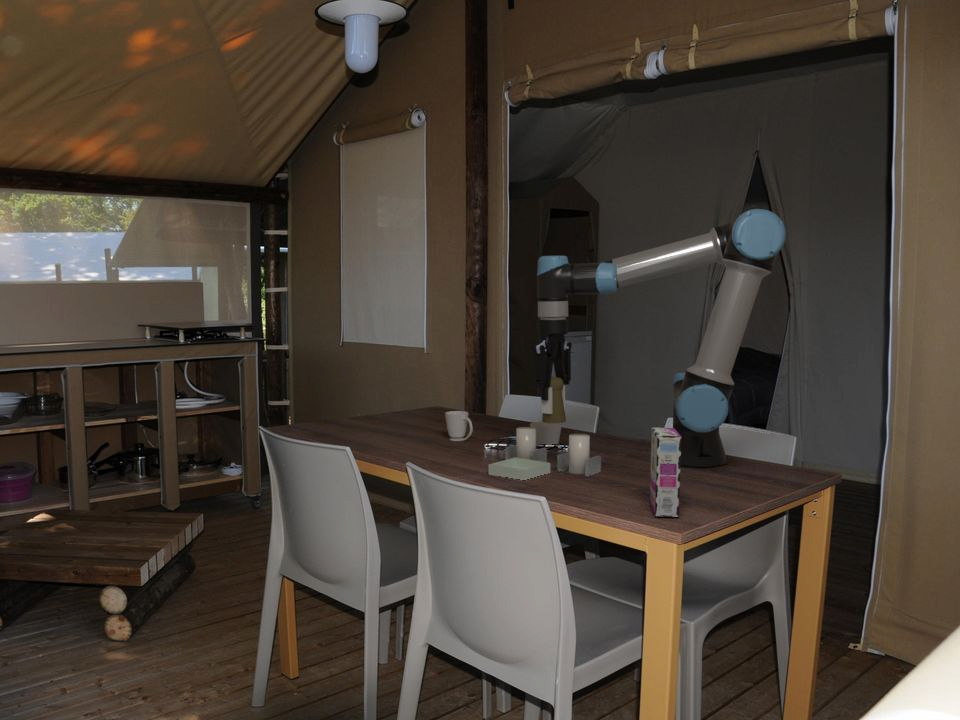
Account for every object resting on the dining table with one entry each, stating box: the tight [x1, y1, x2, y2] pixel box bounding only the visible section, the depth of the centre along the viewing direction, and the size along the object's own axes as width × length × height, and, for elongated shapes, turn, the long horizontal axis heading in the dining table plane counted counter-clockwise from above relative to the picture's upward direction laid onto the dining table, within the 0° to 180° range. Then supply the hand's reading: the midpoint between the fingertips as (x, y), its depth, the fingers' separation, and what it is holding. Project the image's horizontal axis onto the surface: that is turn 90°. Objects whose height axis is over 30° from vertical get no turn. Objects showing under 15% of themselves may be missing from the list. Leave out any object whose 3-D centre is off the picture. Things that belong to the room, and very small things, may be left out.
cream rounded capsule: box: [515, 426, 537, 460], centre depth 218 cm, size 5×5×9 cm
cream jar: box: [568, 433, 591, 475], centre depth 208 cm, size 5×5×9 cm
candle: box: [529, 421, 563, 445], centre depth 241 cm, size 9×9×6 cm
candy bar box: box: [649, 427, 682, 518], centre depth 172 cm, size 11×5×16 cm, turn 175°
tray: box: [488, 457, 551, 481], centre depth 206 cm, size 11×11×2 cm
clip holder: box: [504, 444, 602, 477], centre depth 213 cm, size 25×6×4 cm, turn 51°
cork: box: [541, 376, 567, 424], centre depth 212 cm, size 6×6×11 cm
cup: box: [444, 410, 474, 442], centre depth 250 cm, size 7×10×8 cm
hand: (553, 411), depth 212 cm, fingers closed on cork, 5 cm apart
